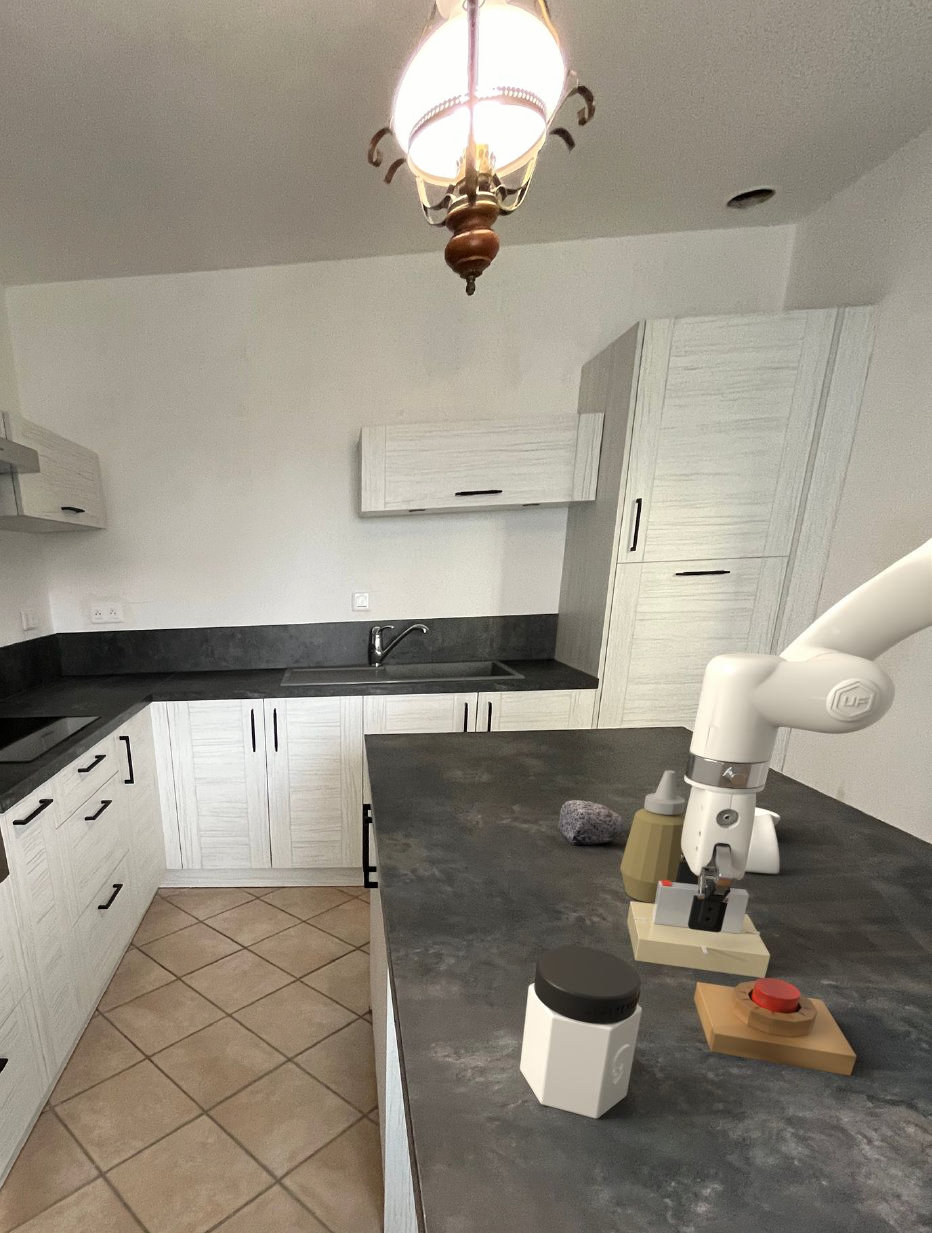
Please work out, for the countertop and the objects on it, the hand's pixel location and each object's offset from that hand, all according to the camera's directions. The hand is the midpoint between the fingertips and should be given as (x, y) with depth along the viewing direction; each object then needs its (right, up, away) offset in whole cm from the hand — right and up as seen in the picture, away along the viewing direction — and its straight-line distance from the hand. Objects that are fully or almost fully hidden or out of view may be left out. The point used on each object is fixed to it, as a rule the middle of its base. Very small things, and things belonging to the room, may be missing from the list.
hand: (695, 910), depth 81 cm
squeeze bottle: (+2, 0, +15) cm, 15 cm away
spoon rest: (+25, +7, +30) cm, 40 cm away
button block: (-1, -11, -14) cm, 17 cm away
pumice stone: (+2, +8, +34) cm, 35 cm away
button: (-1, -7, -15) cm, 17 cm away
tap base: (0, -5, +2) cm, 5 cm away
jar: (-23, -14, -19) cm, 33 cm away
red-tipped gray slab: (0, -2, +1) cm, 2 cm away
